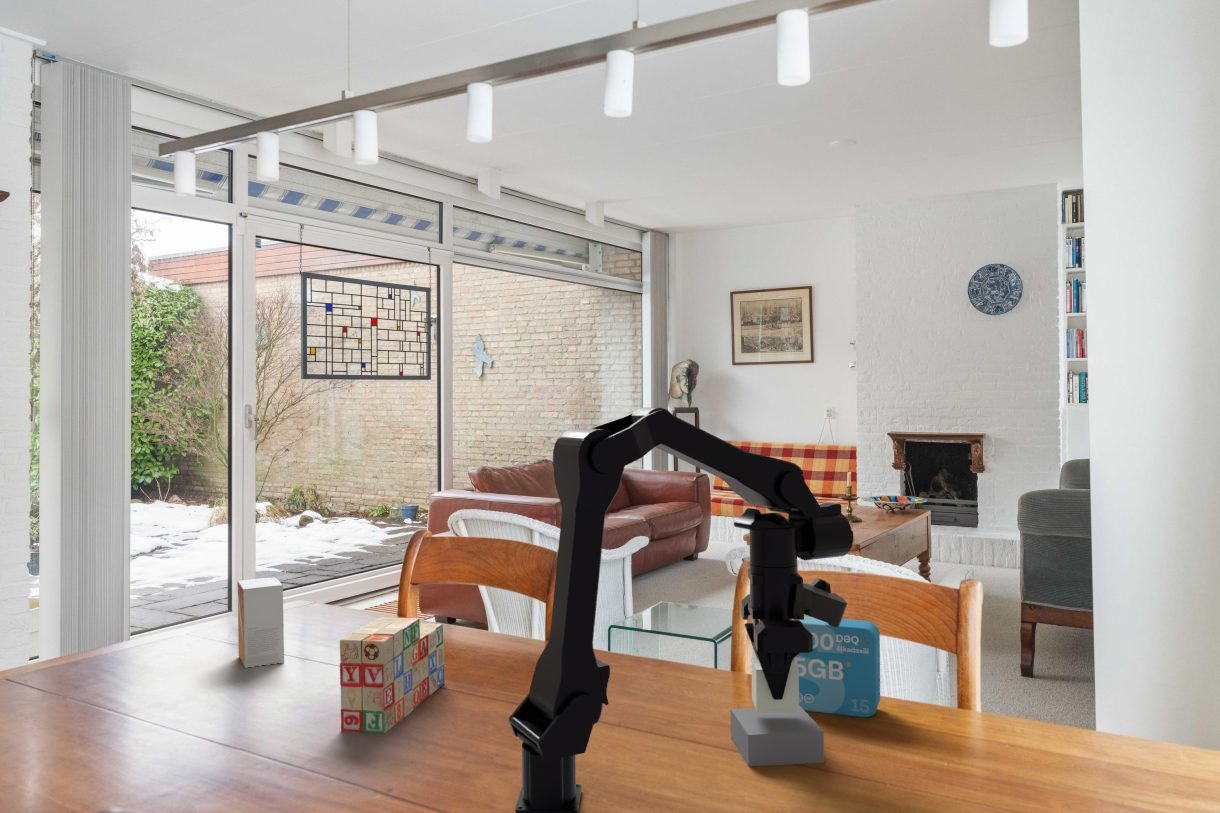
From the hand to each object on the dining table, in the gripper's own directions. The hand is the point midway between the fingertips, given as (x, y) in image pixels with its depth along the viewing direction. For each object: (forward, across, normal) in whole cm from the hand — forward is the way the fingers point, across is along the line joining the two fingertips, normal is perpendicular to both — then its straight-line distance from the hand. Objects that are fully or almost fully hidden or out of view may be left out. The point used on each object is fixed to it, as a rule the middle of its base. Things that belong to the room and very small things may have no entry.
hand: (774, 692), depth 112 cm
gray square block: (+7, 0, 0) cm, 7 cm away
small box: (+7, +39, +80) cm, 89 cm away
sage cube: (+2, 0, 0) cm, 2 cm away
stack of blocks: (+7, +16, +51) cm, 54 cm away
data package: (+7, +15, -10) cm, 19 cm away
